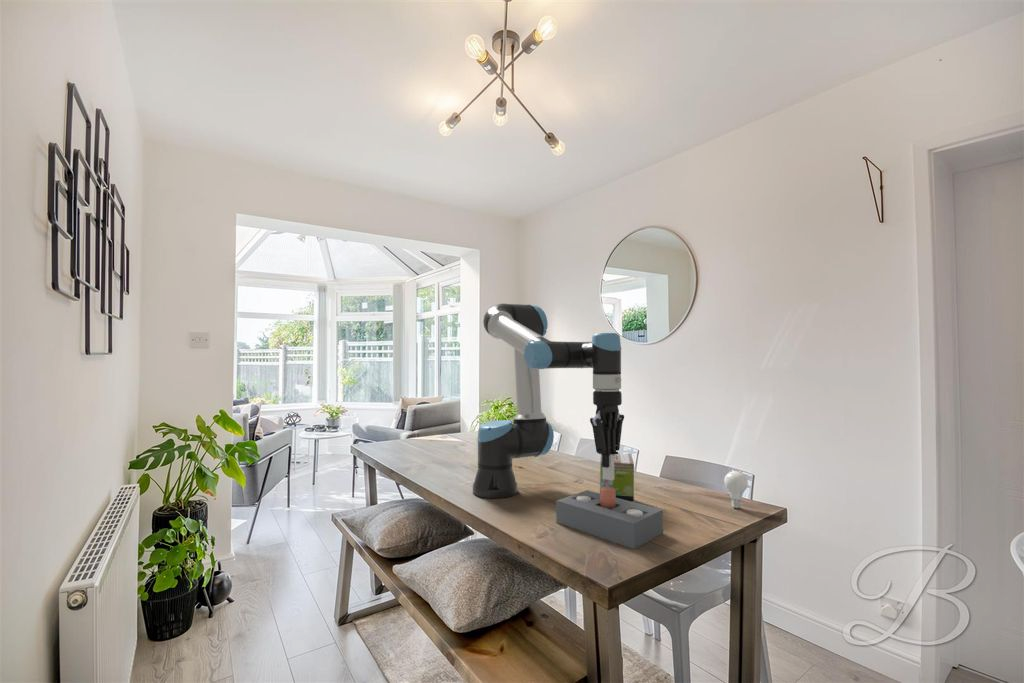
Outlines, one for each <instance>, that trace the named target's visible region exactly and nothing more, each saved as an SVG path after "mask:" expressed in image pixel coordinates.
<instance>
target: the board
mask: <svg viewBox="0 0 1024 683" xmlns="http://www.w3.org/2000/svg"><path fill="white" fill-rule="evenodd" d="M577 496H588V497H590V498H591V500H590V501H588V502H583V501H579V500H576V497H577ZM555 505H556V506H555V507H556V508H555V510H556V521H555V522H556V523H557V524H559V525H563V526H566V527H568V528H571V529H573V530H577V531H580V532H583V533H585V534H589V535H591V536H595V537H598V538H600V539H603V540H606V541H608V542H611V543H615V544H617V545H621V546H624V547H626V548H630V549H632V550H635V549H637V548H638V547H641V546H642V545H644V544H646V543H648V542H650V541H652V540H653V539H655V538H657V537H659V536H661V535H662V534H664V515H663V514H664V512H663V508H657V507H653V506H650V505H646V504H642V503H638V502H635V501H634V502H631V501H627V500H623V499H619V498H616V507H615V508H613V509H607V508H604V507H600V492H595V491H593V490H587V489H586V490H584V491H581V492H577V493H575V494H572V495H569V496H566V497H563V498H560V499H558V500H556V504H555ZM629 509H636V510H640V511H642V512H643V515H642V516H640V517H636V516H632V515H629V514H627V513H626V511H627V510H629Z"/></svg>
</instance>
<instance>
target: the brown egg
mask: <svg viewBox="0 0 1024 683" xmlns="http://www.w3.org/2000/svg"><path fill="white" fill-rule="evenodd" d="M599 493H600V507H604V508H607V509H613V508H615V507H616V495H615V488H612V487H602V488H600V487H599Z"/></svg>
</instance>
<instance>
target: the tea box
mask: <svg viewBox="0 0 1024 683" xmlns="http://www.w3.org/2000/svg"><path fill="white" fill-rule="evenodd" d="M599 461H600V462H599V463H600V464H599V489H600V488H602V487H612V488H615V495H616V498H619V499H623V500H627V501H631V502H635V500H634V499H635V497H634V496H635V463H634V459H633V455H632V453H626V452H625V453H624V452H621V453H620V452H618V454H614V480H607V479H603V467H602V454H600V460H599Z"/></svg>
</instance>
